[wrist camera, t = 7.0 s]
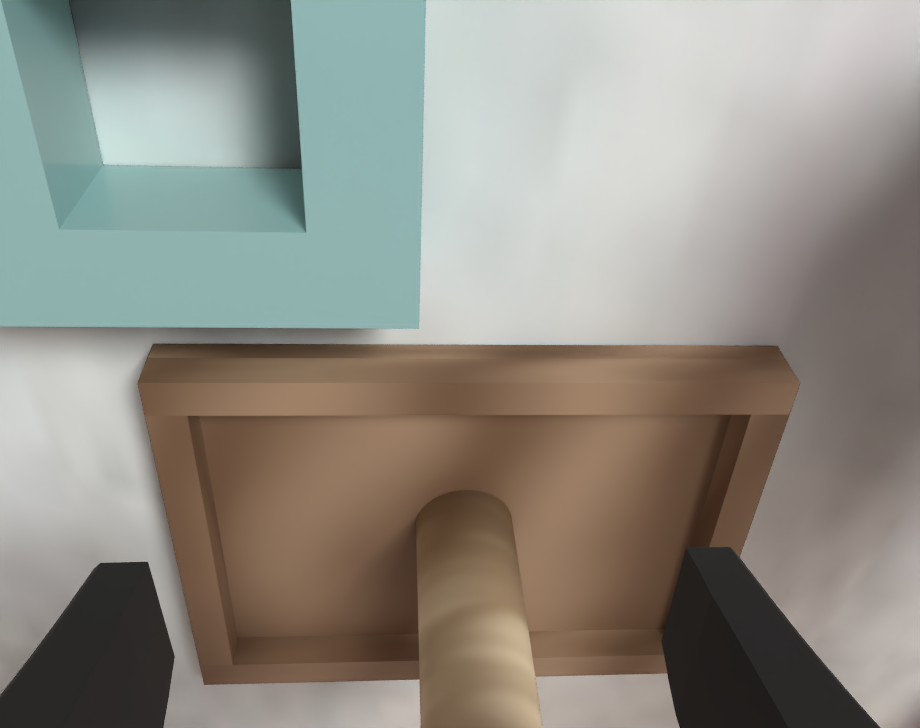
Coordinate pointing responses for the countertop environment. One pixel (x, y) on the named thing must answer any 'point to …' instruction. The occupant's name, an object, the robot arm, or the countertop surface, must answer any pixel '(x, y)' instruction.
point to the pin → (472, 617)
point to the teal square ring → (218, 191)
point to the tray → (449, 490)
